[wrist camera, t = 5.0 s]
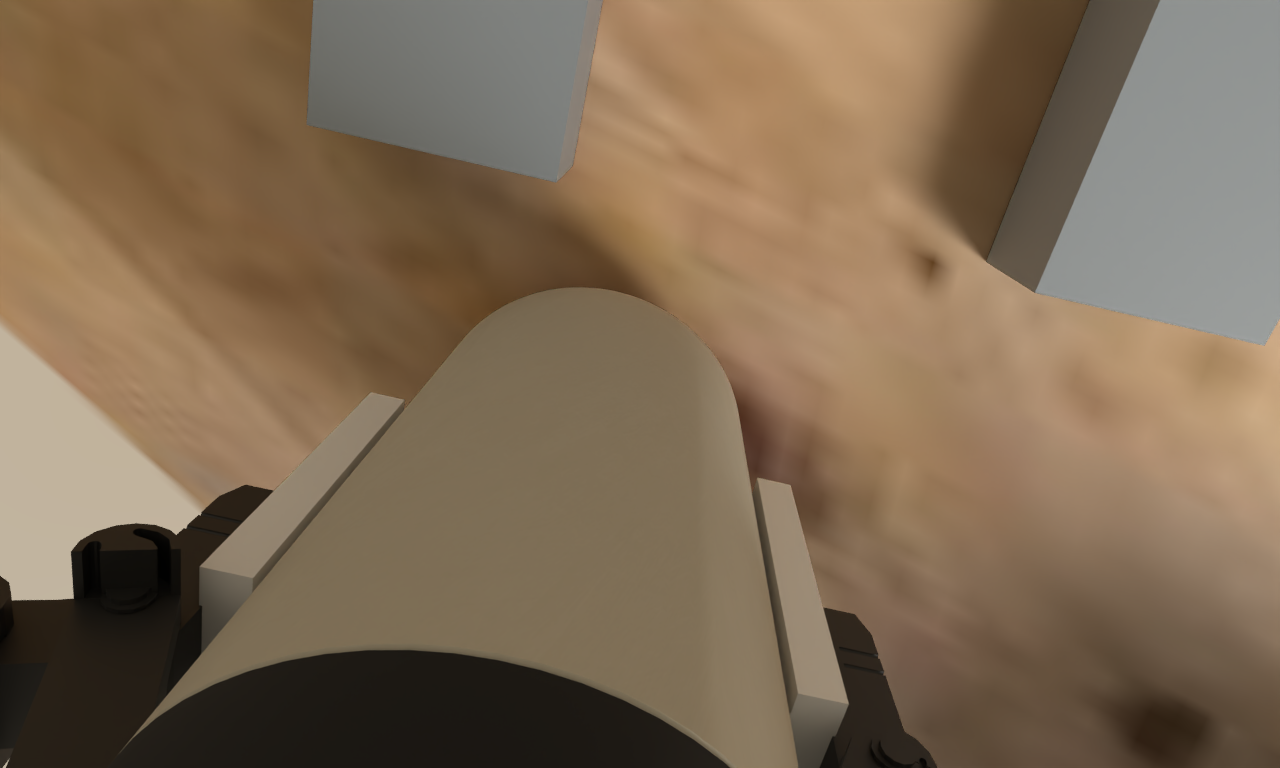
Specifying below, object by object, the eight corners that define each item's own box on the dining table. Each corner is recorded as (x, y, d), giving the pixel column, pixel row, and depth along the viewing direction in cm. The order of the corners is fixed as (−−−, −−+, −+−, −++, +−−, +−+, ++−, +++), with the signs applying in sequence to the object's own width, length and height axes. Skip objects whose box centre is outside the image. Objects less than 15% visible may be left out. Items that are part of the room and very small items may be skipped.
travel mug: (761, 302, 19) (1311, 1859, 2) (717, 574, 22) (828, 2129, 5) (438, 266, 19) (-1197, 1546, 2) (436, 542, 22) (-317, 1980, 5)
